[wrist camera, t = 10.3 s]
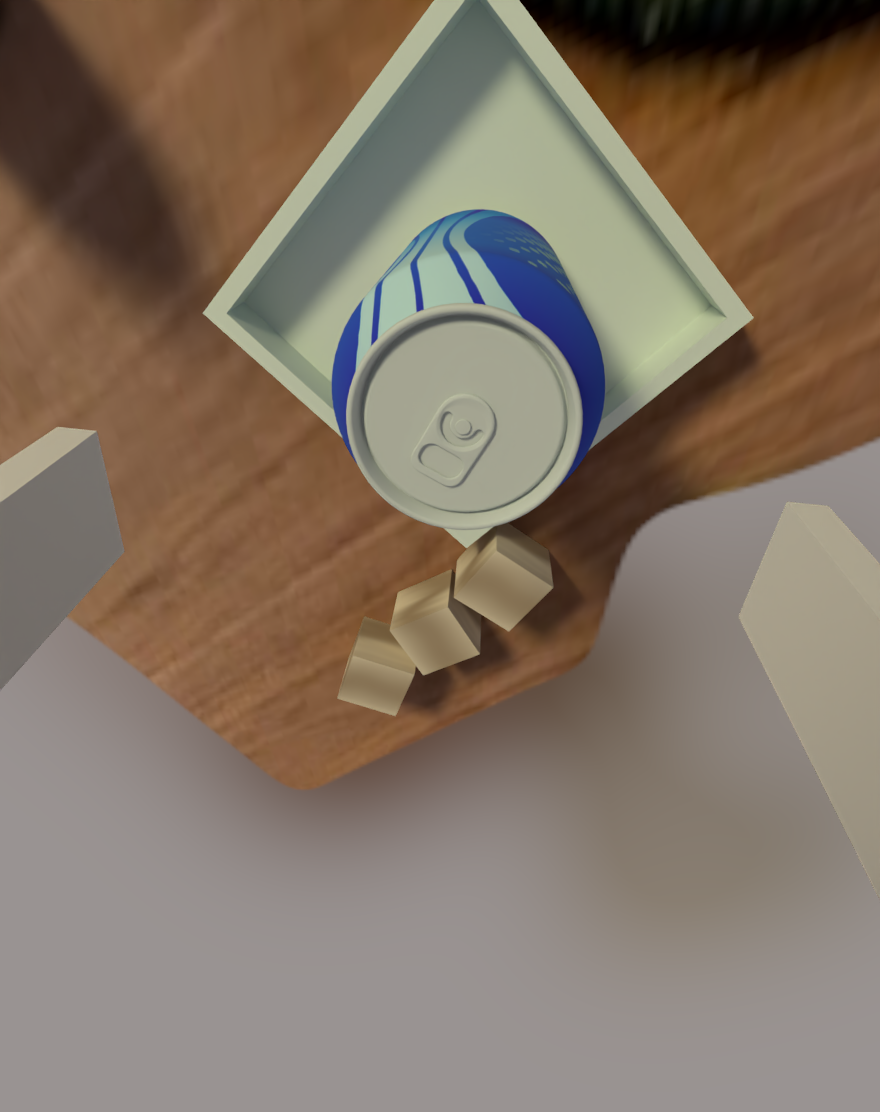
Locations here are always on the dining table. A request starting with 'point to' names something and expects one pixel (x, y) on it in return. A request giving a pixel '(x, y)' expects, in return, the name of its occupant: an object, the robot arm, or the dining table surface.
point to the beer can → (469, 374)
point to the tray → (479, 183)
